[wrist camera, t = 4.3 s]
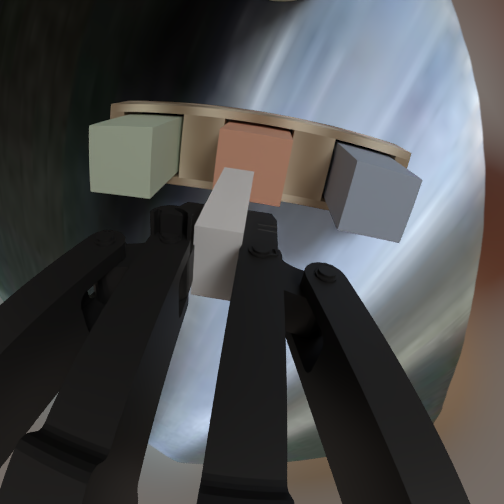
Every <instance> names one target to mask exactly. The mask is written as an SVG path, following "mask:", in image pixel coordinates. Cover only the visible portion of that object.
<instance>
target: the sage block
mask: <svg viewBox="0 0 504 504" xmlns="http://www.w3.org/2000/svg"><path fill="white" fill-rule="evenodd" d="M183 119H184V116H171V115H154V114H129V115H125V116H121V117H117V118H114V119H110V120H107V121H103V122H100V123H96V124H93V125H90V126H89V166H90V187H91V192H99V193H108V194H116V195H124V196H132V197H139V198H147V199H150V198H151V197H152V196H153V195H154V194H155V193H156V192H157V191H158V190H159V189H160V188H161V187H162V186H163V185H164V184H166V183H167V182H168V181H169V180H170V179H171V178H172V177H173V176H174V175H175V174H176V173H177V172H178V171H179V164H180V151H181V140H182V129H183Z"/></svg>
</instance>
